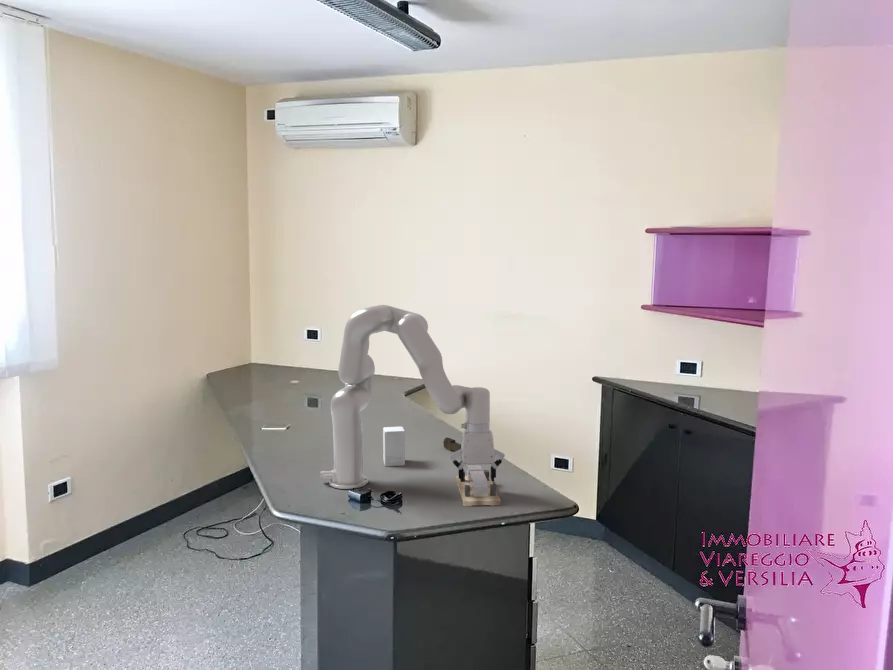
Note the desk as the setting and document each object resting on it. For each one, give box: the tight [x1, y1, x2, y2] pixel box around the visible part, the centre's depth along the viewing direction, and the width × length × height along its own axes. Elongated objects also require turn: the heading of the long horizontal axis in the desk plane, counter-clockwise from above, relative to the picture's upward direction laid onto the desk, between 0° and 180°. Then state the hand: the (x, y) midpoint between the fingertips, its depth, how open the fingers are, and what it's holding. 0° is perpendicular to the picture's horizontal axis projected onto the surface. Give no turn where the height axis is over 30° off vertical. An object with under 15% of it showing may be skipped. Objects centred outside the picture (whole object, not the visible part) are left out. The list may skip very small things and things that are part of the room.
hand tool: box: [442, 437, 462, 452], centre depth 257 cm, size 19×4×5 cm, turn 34°
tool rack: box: [455, 469, 502, 507], centre depth 213 cm, size 11×24×4 cm, turn 5°
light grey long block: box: [466, 464, 488, 497], centre depth 213 cm, size 4×18×4 cm, turn 5°
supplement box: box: [382, 426, 406, 467], centre depth 243 cm, size 7×7×13 cm
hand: (477, 480), depth 213 cm, fingers open, 9 cm apart
